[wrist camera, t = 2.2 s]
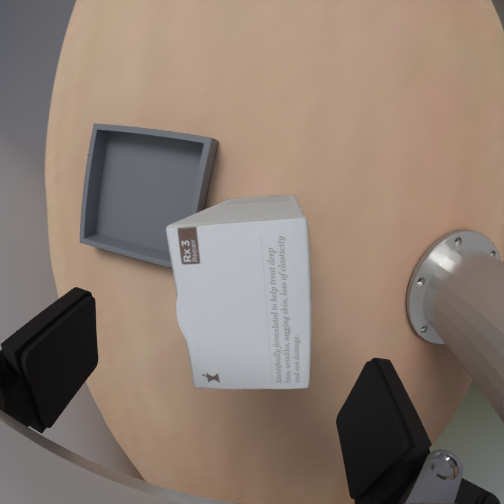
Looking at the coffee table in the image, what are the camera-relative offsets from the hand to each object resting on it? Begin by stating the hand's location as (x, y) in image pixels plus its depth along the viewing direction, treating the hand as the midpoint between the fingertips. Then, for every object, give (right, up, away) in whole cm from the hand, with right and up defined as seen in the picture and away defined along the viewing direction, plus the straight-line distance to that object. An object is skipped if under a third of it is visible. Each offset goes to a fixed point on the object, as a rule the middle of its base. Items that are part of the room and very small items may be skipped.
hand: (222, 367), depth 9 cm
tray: (-8, +9, +17) cm, 21 cm away
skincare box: (+2, +5, +17) cm, 18 cm away
